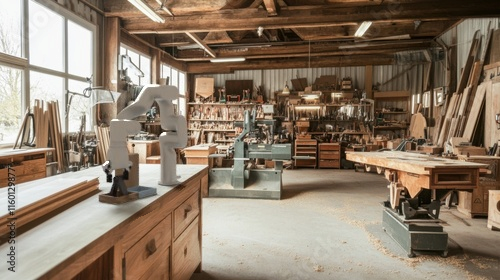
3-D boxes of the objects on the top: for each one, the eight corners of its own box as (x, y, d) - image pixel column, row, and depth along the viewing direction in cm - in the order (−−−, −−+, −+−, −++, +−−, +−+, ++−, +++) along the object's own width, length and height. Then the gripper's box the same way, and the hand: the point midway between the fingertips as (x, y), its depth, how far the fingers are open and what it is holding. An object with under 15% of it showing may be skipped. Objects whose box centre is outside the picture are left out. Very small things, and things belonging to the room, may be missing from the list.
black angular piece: (130, 198, 156) (130, 174, 155) (125, 201, 150) (125, 176, 149) (112, 198, 156) (111, 174, 155) (106, 201, 150) (106, 176, 149)
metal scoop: (119, 192, 170) (119, 188, 170) (125, 193, 168) (125, 189, 168) (100, 197, 159) (100, 193, 159) (106, 198, 157) (106, 194, 157)
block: (139, 187, 182) (139, 153, 181) (131, 191, 172) (131, 154, 171) (123, 186, 183) (123, 152, 182) (114, 190, 173) (113, 154, 172)
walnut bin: (119, 195, 161) (119, 190, 161) (138, 198, 156) (137, 192, 156) (98, 201, 150) (98, 194, 150) (117, 204, 145) (117, 197, 144)
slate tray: (139, 191, 173) (139, 185, 173) (156, 193, 167) (156, 187, 167) (120, 195, 162) (120, 189, 162) (138, 198, 156) (138, 192, 156)
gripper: (126, 144, 161) (126, 178, 161) (96, 145, 145) (96, 182, 146) (137, 145, 157) (137, 179, 158) (108, 146, 142) (108, 184, 142)
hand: (117, 181), depth 152 cm, fingers open, 9 cm apart
